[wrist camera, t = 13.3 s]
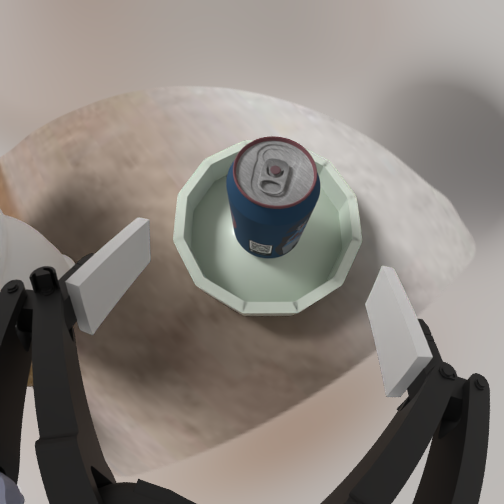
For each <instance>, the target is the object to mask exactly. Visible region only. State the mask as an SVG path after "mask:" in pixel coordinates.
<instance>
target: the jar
mask: <svg viewBox="0 0 504 504" xmlns="http://www.w3.org/2000/svg"><path fill="white" fill-rule="evenodd" d="M74 265H75V263H74V261H73V260H72V259H71V258H70V257H68V256H66V255H63V254H61V253H60V251H59V250H58V249H57V248H56V247H55V246H54V245H53V244H52V243H50V242H49V241H48V240H47V239H46V238H45V237H44V236H43V235H42V234H41V233H39V232H38V231H37V230H36V229H34V228H33V227H31V226H30V225H28V224H26V223H24V222H23V221H20V220H18V219H16V218H13V217H10V216H7V215H4V214H3V212H2V211H1V209H0V291H1V289H2V288H3V286H4V285H5V284H6V283H8V282H9V281H11V280H16V279H17V280H21V281H22V282H23V283H24V286H25V289H28V290H33V287H32V284H31V281H30V278H29V277H30V274H31V273H32V272H33V271H34V270H36V269H37V268H40V267H43V266H50V267H53V268H54V269H55V270H56V274H57V278H58V280H59V279H60V278H61V277H62V276H63V275H64V274H65V273H66V272H67V271H68V270H69V269H72V267H73V266H74Z"/></svg>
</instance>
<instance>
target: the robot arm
mask: <svg viewBox="0 0 504 504" xmlns="http://www.w3.org/2000/svg"><path fill="white" fill-rule="evenodd" d="M150 261H151V257H150V225H149V219H145V218H139V217H138V218H136V219H135V220H134V221H133V222H131V223H130V224H129V225H128V226H127V227H125V228H124V229H123V230H122V231H121V232H119V233H118V234H117V235H116V236H115V237H114V238H112V239H111V240H110V241H109V242H108V243H107V244H105V245H104V246H103V247H102V248H101V249H100V250H99V251H98V252H96V253H95V254H93V253H91V254H89V255H87V256H85V257H83V258H82V259H81V260H79V261H78V262H77V264H75V265H74V266H73V267H72V269H69V270H68V271H67V272H66V273H65V274H64V275H63V276H62V277H61V278H60V279H59V280H58V278H57V274H56V270H55V269H54V268H53V267H50V266H43V267H40V268H37V269H36V270H34V271H33V272H32V273H31V274H30V277H29V278H30V281H31V284H32V287H33V290H28V289H25V286H24V283H23V282H22V281H21V280H17V279H16V280H11V281H9V282H8V283H6V284H5V285H4V286H3V288H2V289H1V291H0V504H24V497H23V495H22V494H21V493H20V491H19V489H18V486H17V481H18V474H19V463H20V442H21V428H22V418H23V409H24V402H25V395H26V389H27V383H28V378H29V373H30V368H31V363H32V371H33V387H34V398H35V407H36V415H37V421H38V428H39V435H40V438H39V440H37V441H36V442H35V450H36V455H37V461H38V465H39V469H40V473H41V477H42V481H43V484H44V488H45V491H46V494H47V497H48V500H49V504H196V503H194V502H192V501H190V500H188V499H186V498H184V497H182V496H180V495H178V494H177V493H175V492H173V491H171V490H169V489H166V488H163V487H160V486H157V485H154V484H151V483H148V482H145V481H143V480H140V479H138V481H137V483H130V482H129V483H128V482H123V483H116V481H115V478H114V476H113V474H112V472H111V470H110V468H109V467H108V465H107V463H106V461H105V459H104V456H103V454H102V451H101V448H100V445H99V442H98V439H97V435H96V432H95V429H94V426H93V422H92V418H91V415H90V411H89V407H88V403H87V399H86V395H85V391H84V386H83V381H82V376H81V371H80V366H79V360H78V354H77V348H76V341H75V333H74V329H73V325H74V324H75V322H76V321H77V323H78V326H79V329H80V330H81V331H83V332H86V333H88V334H91V335H93V334H94V333H95V331H96V330H97V329H98V327H99V326H100V325H101V323H102V322H103V321H104V319H105V318H106V317H107V315H108V314H109V313H110V311H111V310H112V309H113V307H114V306H115V305H116V303H117V302H118V301H119V300H120V298H121V297H122V296H123V295H124V293H125V292H126V291H127V289H128V288H129V287H130V286H131V284H132V283H133V282H134V281H135V279H136V278H137V277H138V276H139V275H140V273H141V272H142V271H143V270H144V268H145V267H146V266H147V265H148V264H149V262H150ZM365 306H366V309H367V313H368V317H369V321H370V325H371V329H372V333H373V337H374V341H375V345H376V350H377V354H378V359H379V363H380V368H381V373H382V378H383V383H384V388H385V394H386V397H401V395H402V394H403V393H404V392H405V391H406V390H408V395H409V396H408V398H407V399H406V400H405V401H404V402H403V403H402V404H401V405H400V406H399V407H398V408H397V410H398V412H397V413H396V415H395V416H394V418H393V419H392V421H391V422H390V423H389V425H388V426H387V428H386V429H385V430H384V432H383V433H382V434H381V436H380V437H379V438H378V440H377V441H376V443H375V444H374V445H373V446H372V448H371V449H370V450H369V451H368V453H367V454H366V455H365V456H364V458H363V459H362V460H361V461H360V462H359V464H358V465H357V466H356V467H355V468H354V469H353V470H352V472H351V473H350V474H349V475H348V476H347V477H346V478H345V479H344V480H343V482H342V483H341V484H340V485H339V486H338V487H337V488H336V489H335V490H334V491H333V492H332V493H331V494H330V495H329V496H328V497H327V498H326V499H325V500H324V501H323V502H322V503H321V504H391V503H392V502H393V501H394V499H395V498H396V496H397V495H398V494H399V492H400V491H401V489H402V488H403V486H404V485H405V483H406V482H407V480H408V479H409V477H410V475H411V474H412V472H413V471H414V469H415V467H416V465H417V464H418V462H419V460H420V459H421V457H422V455H423V453H424V452H425V450H426V448H427V446H428V444H429V442H430V440H431V438H432V437H433V438H432V442H431V446H430V451H429V454H428V458H427V462H426V465H425V468H424V472H423V475H422V478H421V481H420V484H419V487H418V490H417V493H416V495H415V498H414V501H413V503H412V504H478V502H479V498H480V493H481V488H482V483H483V477H484V472H485V464H486V457H487V448H488V436H489V418H490V417H489V416H490V389H489V384H488V382H487V380H486V379H485V377H483V376H482V375H480V374H477V373H475V374H472V375H471V377H470V378H469V379H468V380H466V379H463V378H460V377H457V374H456V371H455V370H454V368H453V367H452V366H451V365H449V364H448V363H446V362H443V361H442V359H441V356H440V354H439V351H438V348H437V346H436V344H435V342H434V339H433V337H432V336H431V332H430V330H429V327H428V326H427V324H426V323H425V322H424V321H423V320H422V319H417V317H416V314H415V312H414V310H413V307H412V305H411V303H410V301H409V299H408V296H407V294H406V292H405V290H404V288H403V286H402V284H401V282H400V280H399V278H398V276H397V274H396V272H395V270H394V268H392V267H387V266H382V267H381V269H380V271H379V274H378V276H377V279H376V281H375V283H374V286H373V288H372V290H371V292H370V295H369V297H368V299H367V301H366V303H365Z"/></svg>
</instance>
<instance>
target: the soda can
mask: <svg viewBox="0 0 504 504" xmlns="http://www.w3.org/2000/svg"><path fill="white" fill-rule="evenodd" d="M226 188H227V194H228V200H229V205H230V211H231V217H232V222H233V228H234V233H235V236H236V239H237V241H238V242H239V244H240V245H241V246H242V248H243V249H245V250H246V251H247V252H248V253H250V254H252V255H254V256H256V257H260V258H267V259H270V258H277V257H281V256H283V255H285V254H287V253H288V252H290V251H291V250H292V249H293V248H294V247H295V246H296V245H297V243H298V241H299V239H300V237H301V235H302V233H303V231H304V229H305V227H306V225H307V223H308V221H309V218H310V216H311V214H312V212H313V210H314V208H315V206H316V203H317V201H318V199H319V195H320V188H321V186H320V178H319V175H318V172H317V168H316V164H315V161H314V159H313V158H312V156H311V155H310V153H309V152H308V151H307V150H306V149H305V148H304V147H303V146H301V145H300V144H298V143H297V142H295V141H292V140H290V139H287V138H282V137H263V138H259V139H256V140H254V141H252V142H250V143H248V144H247V145H245V146H244V147H243V148H242V149H241V150H240V151H239V153H238V154H237V156H236V158H235V160H234V161H233V163H232V164H231V166H230V168H229V171H228V174H227V179H226Z"/></svg>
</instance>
